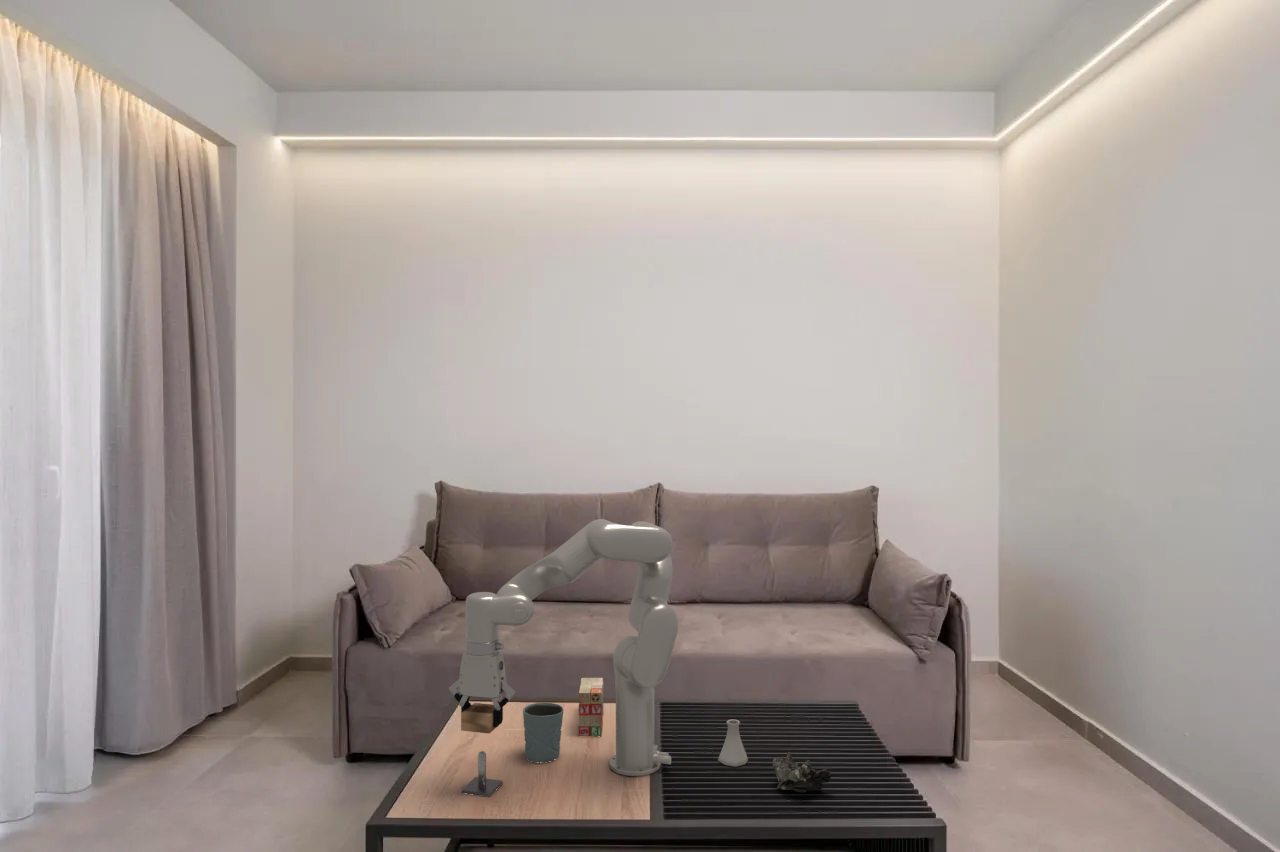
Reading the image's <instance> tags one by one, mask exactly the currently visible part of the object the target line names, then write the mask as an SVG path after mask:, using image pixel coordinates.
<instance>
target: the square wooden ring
mask: <svg viewBox="0 0 1280 852" xmlns="http://www.w3.org/2000/svg"><path fill="white" fill-rule="evenodd" d="M493 710H495V706H494V704H493V703H492V704H489V703H480V702H474V703H472V704H471V706H470V707H469V708H467V709H466V710H464V711H463V712H462V713H461V712H460V729H461V730H460V731H462V732H472V733H480V734H481V733H482V734H491V733H492V732H493V731H494V730H495V729H496V728H498V727H499V726H497V727H494V726H493ZM502 723H503V721H502V722H501V724H502Z"/></svg>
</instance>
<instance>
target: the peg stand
mask: <svg viewBox="0 0 1280 852" xmlns="http://www.w3.org/2000/svg"><path fill="white" fill-rule="evenodd" d="M477 756H478V757H477V761H478V763H477V766H478V768H477V770H478V771H477V772H478V775H477V776H475V777H473V778H472V779H471V780H470V781H469V782H468V783H467V784H466V785H465V786H464V787H463V788H462V789H461V794H462V793H467V794H466V795H469V794H473V795H472V796H477V795H482V796H481V797H485V796H488V797H487V798H490V797H492V795H494V793H496V791H497V790H498V789H499V788H500V787H501V786H502V785H503V780H500V779H494V778H487V753H486V751H484V750H481V751H479V752H478V755H477ZM501 784H502V785H501ZM500 785H501V786H500ZM499 786H500V787H499ZM498 787H499V788H498ZM497 788H498V789H497ZM496 789H497V790H496Z"/></svg>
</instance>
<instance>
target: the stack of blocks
mask: <svg viewBox="0 0 1280 852" xmlns="http://www.w3.org/2000/svg"><path fill="white" fill-rule="evenodd" d="M578 690H579V691H578V737H579V736H594V737H593V738H598V736H600V737H602V736H603V725H604V722H603V721H604V718H603V717H604V677H581V679H580V686H579V689H578ZM600 737H599V738H600Z"/></svg>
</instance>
